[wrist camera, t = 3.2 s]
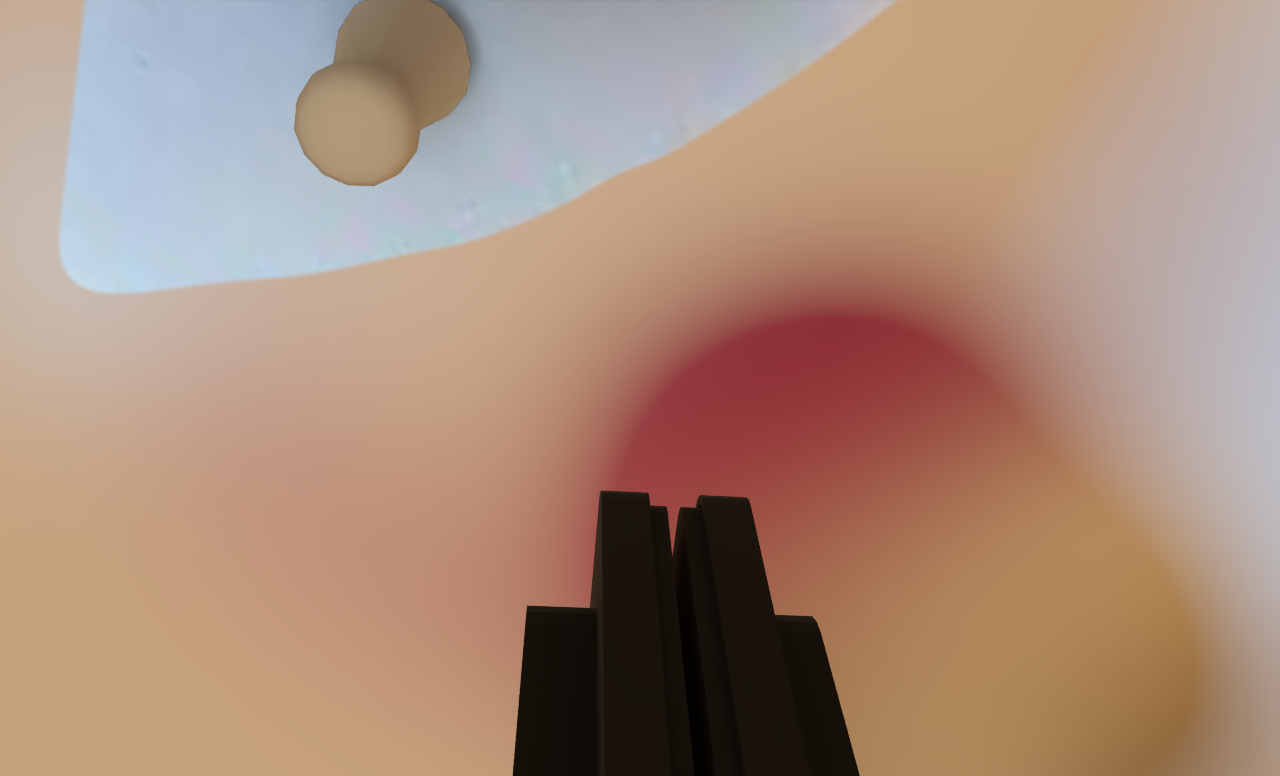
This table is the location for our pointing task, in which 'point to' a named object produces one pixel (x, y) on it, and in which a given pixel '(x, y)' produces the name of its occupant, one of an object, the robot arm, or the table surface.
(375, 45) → the salt shaker
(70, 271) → the table surface
